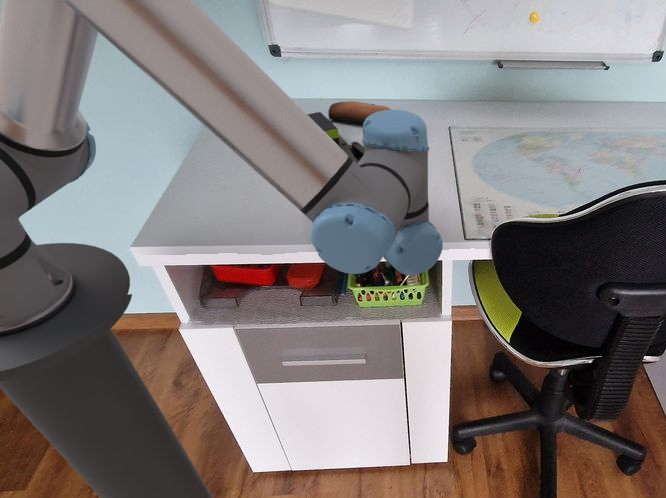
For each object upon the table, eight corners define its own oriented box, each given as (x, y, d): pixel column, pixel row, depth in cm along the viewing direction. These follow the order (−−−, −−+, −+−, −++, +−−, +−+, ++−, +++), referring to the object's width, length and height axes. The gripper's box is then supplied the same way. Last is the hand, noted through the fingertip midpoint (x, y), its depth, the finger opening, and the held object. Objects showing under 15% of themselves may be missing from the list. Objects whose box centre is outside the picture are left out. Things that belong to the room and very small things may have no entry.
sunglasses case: (413, 117, 127) (407, 97, 121) (405, 142, 126) (398, 124, 119) (344, 106, 131) (334, 86, 124) (335, 131, 129) (324, 112, 123)
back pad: (326, 197, 90) (315, 132, 82) (310, 178, 94) (299, 115, 86) (346, 192, 92) (337, 128, 84) (330, 174, 96) (320, 111, 88)
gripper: (319, 238, 78) (267, 169, 91) (420, 209, 84) (357, 148, 98) (311, 191, 72) (256, 125, 86) (419, 164, 79) (353, 106, 92)
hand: (310, 137), depth 92 cm, fingers closed on back pad, 3 cm apart
